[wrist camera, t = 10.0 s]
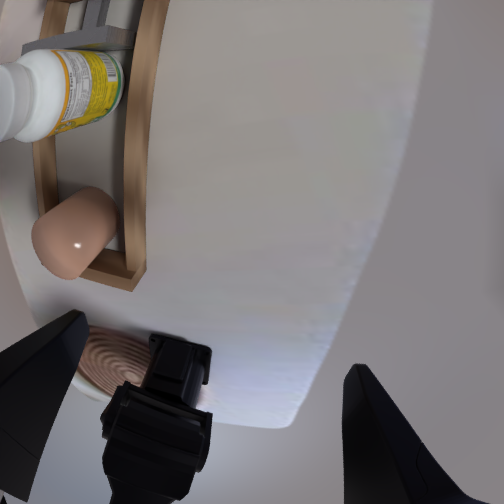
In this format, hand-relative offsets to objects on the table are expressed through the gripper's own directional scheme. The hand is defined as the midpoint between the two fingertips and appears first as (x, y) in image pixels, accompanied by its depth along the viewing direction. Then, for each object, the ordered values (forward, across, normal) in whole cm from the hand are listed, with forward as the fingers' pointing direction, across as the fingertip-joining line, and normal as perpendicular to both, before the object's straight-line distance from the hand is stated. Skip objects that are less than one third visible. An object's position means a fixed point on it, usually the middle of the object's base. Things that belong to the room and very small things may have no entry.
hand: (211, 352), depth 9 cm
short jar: (+13, +13, +3) cm, 18 cm away
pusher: (+13, +12, -13) cm, 22 cm away
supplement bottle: (+13, +12, -7) cm, 19 cm away
